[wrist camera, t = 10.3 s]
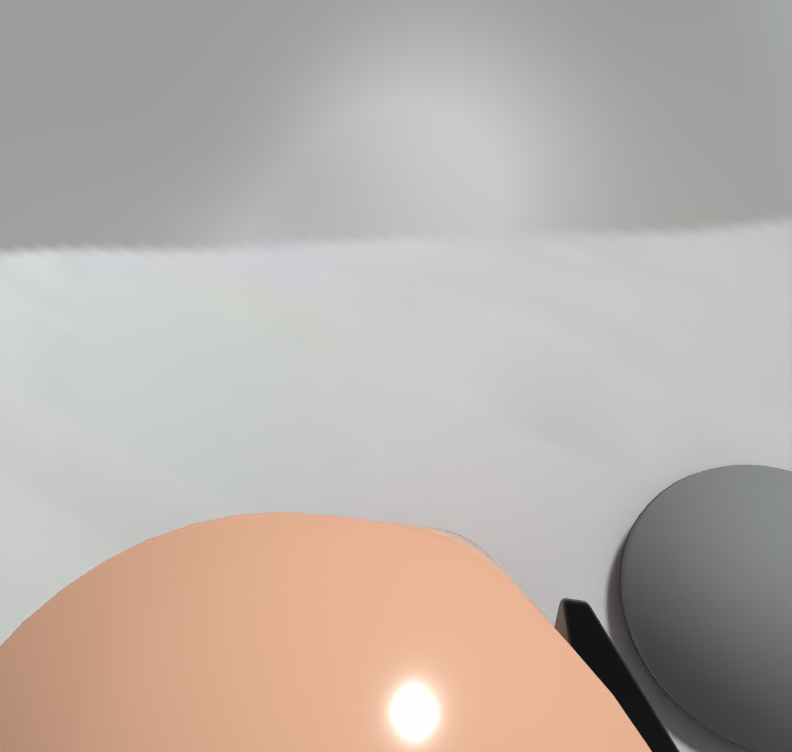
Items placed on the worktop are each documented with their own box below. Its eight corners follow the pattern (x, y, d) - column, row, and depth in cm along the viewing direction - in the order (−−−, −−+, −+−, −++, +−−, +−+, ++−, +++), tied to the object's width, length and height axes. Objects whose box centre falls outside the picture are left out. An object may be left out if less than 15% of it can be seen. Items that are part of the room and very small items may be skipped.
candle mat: (707, 796, 14) (718, 807, 14) (574, 523, 17) (578, 522, 16) (972, 688, 14) (994, 694, 14) (800, 429, 16) (812, 425, 16)
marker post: (379, 747, 14) (-155, 2031, 2) (320, 566, 16) (-190, 682, 4) (548, 677, 14) (1041, 1567, 2) (473, 502, 16) (486, 396, 4)
